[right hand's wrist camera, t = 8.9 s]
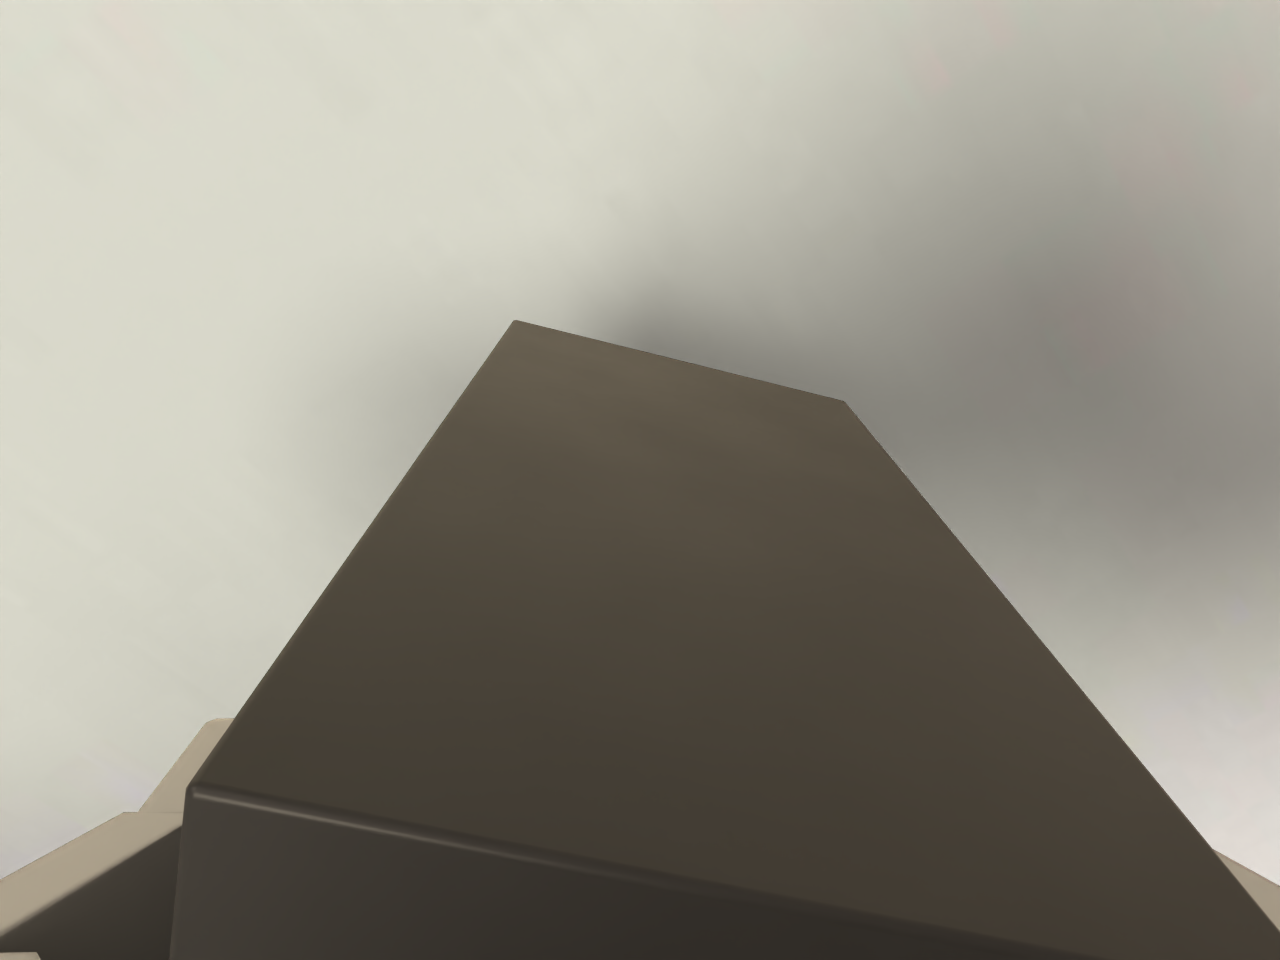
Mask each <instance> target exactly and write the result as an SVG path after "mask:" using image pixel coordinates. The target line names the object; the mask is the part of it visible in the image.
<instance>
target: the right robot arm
mask: <svg viewBox="0 0 1280 960" xmlns="http://www.w3.org/2000/svg"><path fill="white" fill-rule="evenodd" d="M234 719H235V718H224V719H214V720H212V721H209V722H207V723H206V724H205V725H204V726H203V727H202V728H201V730H200V731H199V732H198V734H197V735H196V736H195V738H194V739H193V740H192V742H191V743H190V744H189V745H188V747H187V748H186V749H185V751H184V752H183V753H182V755H181V756H180V757H179V759H178V760H177V761H176V763H175V764H174V765H173V767H172V768H171V769H170V770H169V772H168V773H167V774H166V776H165V777H164V778H163V780H162V781H161V782H160V784H159V785H158V786H157V788H156V789H155V790H154V791H153V793H152V794H151V795H150V797H149V798H148V799H147V801H146V802H145V803H144V805H143V806H142V807H141V809H140V810H139V811H138V812H123V813H121V814H120V815H118V816H116V817H114V818H112V819H111V820H109V821H107V822H105V823H103V824H101V825H100V826H98V827H96V828H94V829H92V830H90V831H89V832H87V833H85V834H83V835H81V836H79V837H78V838H76V839H74V840H72V841H70V842H68V843H67V844H65V845H63V846H61V847H59V848H57V849H56V850H54V851H52V852H50V853H48V854H47V855H45V856H43V857H41V858H39V859H37V860H36V861H34V862H32V863H30V864H28V865H26V866H25V867H23V868H21V869H19V870H17V871H15V872H14V873H12V874H10V875H8V876H6V877H4V878H3V879H1V880H0V960H169V955H170V945H171V935H172V924H173V914H174V904H175V894H176V883H177V873H178V863H179V852H180V842H181V832H182V822H183V811H184V801H185V791H186V787H187V786H188V784H189V783H190V781H191V780H192V778H193V777H194V776H195V774H196V773H197V771H198V770H199V768H200V767H201V766H202V764H203V763H204V761H205V760H206V758H207V757H208V756H209V754H210V753H211V751H212V750H213V748H214V747H215V746H216V744H217V743H218V741H219V740H220V738H221V737H222V736H223V734H224V733H225V731H226V730H227V729H228V727H229V726H230V724H231V723H232V721H233V720H234ZM1213 850H1214V849H1213ZM1214 851H1215V850H1214ZM1215 853H1216V854H1217V855H1218V856H1219V858H1220V859H1221V860H1222V861H1223V862H1224V864H1225V865H1226V866H1227V867H1228V868H1229V870H1230V871H1231V872H1232V873H1233V875H1234V876H1235V877H1236V878H1237V879H1238V881H1239V882H1240V883H1241V884H1242V885H1243V887H1244V888H1245V889H1246V890H1247V892H1248V893H1249V894H1250V895H1251V896H1252V898H1253V899H1254V900H1255V901H1256V903H1257V904H1258V905H1259V906H1260V907H1261V909H1262V910H1263V911H1264V912H1265V913H1266V915H1267V916H1268V917H1269V918H1270V920H1271V921H1272V922H1273V923H1274V924H1275V926H1276V927H1277V928H1278V929H1279V930H1280V886H1279V885H1277V884H1275V883H1273V882H1271V881H1270V880H1268V879H1266V878H1264V877H1262V876H1261V875H1259V874H1257V873H1255V872H1253V871H1252V870H1250V869H1248V868H1246V867H1244V866H1243V865H1241V864H1239V863H1237V862H1235V861H1234V860H1232V859H1230V858H1228V857H1226V856H1224V855H1223V854H1221V853H1219V852H1217V851H1215Z"/></svg>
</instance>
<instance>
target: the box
mask: <svg viewBox="0 0 1280 960" xmlns="http://www.w3.org/2000/svg"><path fill="white" fill-rule="evenodd" d="M169 960H1280V930H1279V929H1278V928H1277V927H1276V926H1275V924H1274V923H1273V922H1272V921H1271V920H1270V918H1269V917H1268V916H1267V915H1266V913H1265V912H1264V911H1263V910H1262V909H1261V907H1260V906H1259V905H1258V904H1257V903H1256V901H1255V900H1254V899H1253V898H1252V896H1251V895H1250V894H1249V893H1248V892H1247V890H1246V889H1245V888H1244V887H1243V885H1242V884H1241V883H1240V882H1239V881H1238V879H1237V878H1236V877H1235V876H1234V875H1233V873H1232V872H1231V871H1230V870H1229V868H1228V867H1227V866H1226V865H1225V864H1224V862H1223V861H1222V860H1221V859H1220V858H1219V856H1218V855H1217V854H1216V853H1215V851H1214V850H1213V849H1212V848H1211V847H1210V845H1209V844H1208V843H1207V842H1206V840H1205V839H1204V838H1203V837H1202V836H1201V834H1200V833H1199V832H1198V831H1197V830H1196V828H1195V827H1194V826H1193V825H1192V823H1191V822H1190V821H1189V820H1188V819H1187V817H1186V816H1185V815H1184V814H1183V813H1182V811H1181V810H1180V809H1179V808H1178V806H1177V805H1176V804H1175V803H1174V802H1173V800H1172V799H1171V798H1170V797H1169V796H1168V794H1167V793H1166V792H1165V791H1164V789H1163V788H1162V787H1161V786H1160V785H1159V783H1158V782H1157V781H1156V780H1155V778H1154V777H1153V776H1152V775H1151V774H1150V772H1149V771H1148V770H1147V769H1146V768H1145V766H1144V765H1143V764H1142V763H1141V761H1140V760H1139V759H1138V758H1137V757H1136V755H1135V754H1134V753H1133V752H1132V751H1131V749H1130V748H1129V747H1128V746H1127V744H1126V743H1125V742H1124V741H1123V740H1122V738H1121V737H1120V736H1119V735H1118V733H1117V732H1116V731H1115V730H1114V729H1113V727H1112V726H1111V725H1110V724H1109V723H1108V721H1107V720H1106V719H1105V718H1104V716H1103V715H1102V714H1101V713H1100V712H1099V710H1098V709H1097V708H1096V707H1095V706H1094V704H1093V703H1092V702H1091V701H1090V699H1089V698H1088V697H1087V696H1086V695H1085V693H1084V692H1083V691H1082V690H1081V688H1080V687H1079V686H1078V685H1077V684H1076V682H1075V681H1074V680H1073V679H1072V678H1071V676H1070V675H1069V674H1068V673H1067V671H1066V670H1065V669H1064V668H1063V667H1062V665H1061V664H1060V663H1059V662H1058V661H1057V659H1056V658H1055V657H1054V656H1053V654H1052V653H1051V652H1050V651H1049V650H1048V648H1047V647H1046V646H1045V645H1044V643H1043V642H1042V641H1041V640H1040V639H1039V637H1038V636H1037V635H1036V634H1035V633H1034V631H1033V630H1032V629H1031V628H1030V626H1029V625H1028V624H1027V623H1026V622H1025V620H1024V619H1023V618H1022V617H1021V616H1020V614H1019V613H1018V612H1017V611H1016V609H1015V608H1014V607H1013V606H1012V605H1011V603H1010V602H1009V601H1008V600H1007V598H1006V597H1005V596H1004V595H1003V594H1002V592H1001V591H1000V590H999V589H998V588H997V586H996V585H995V584H994V583H993V581H992V580H991V579H990V578H989V577H988V575H987V574H986V573H985V572H984V571H983V569H982V568H981V567H980V566H979V564H978V563H977V562H976V561H975V560H974V558H973V557H972V556H971V555H970V553H969V552H968V551H967V550H966V549H965V547H964V546H963V545H962V544H961V543H960V541H959V540H958V539H957V538H956V536H955V535H954V534H953V533H952V532H951V530H950V529H949V528H948V527H947V526H946V524H945V523H944V522H943V521H942V519H941V518H940V517H939V516H938V515H937V513H936V512H935V511H934V510H933V508H932V507H931V506H930V505H929V504H928V502H927V501H926V500H925V499H924V498H923V496H922V495H921V494H920V493H919V491H918V490H917V489H916V488H915V487H914V485H913V484H912V483H911V482H910V481H909V479H908V478H907V477H906V476H905V474H904V473H903V472H902V471H901V470H900V468H899V467H898V466H897V465H896V463H895V462H894V461H893V460H892V459H891V457H890V456H889V455H888V454H887V453H886V451H885V450H884V449H883V448H882V446H881V445H880V444H879V443H878V442H877V440H876V439H875V438H874V437H873V436H872V434H871V433H870V432H869V431H868V429H867V428H866V427H865V426H864V425H863V423H862V422H861V421H860V420H859V419H858V417H857V416H856V415H855V414H854V412H853V411H852V410H851V409H850V408H849V406H848V405H847V404H846V403H845V402H844V401H841V400H837V399H833V398H829V397H825V396H821V395H817V394H813V393H809V392H805V391H801V390H797V389H793V388H788V387H784V386H780V385H776V384H772V383H768V382H764V381H760V380H756V379H752V378H748V377H744V376H740V375H736V374H732V373H728V372H724V371H720V370H716V369H712V368H708V367H704V366H700V365H696V364H692V363H688V362H684V361H679V360H675V359H671V358H667V357H663V356H659V355H655V354H651V353H647V352H643V351H639V350H635V349H631V348H627V347H623V346H619V345H615V344H611V343H607V342H603V341H599V340H595V339H591V338H587V337H583V336H579V335H575V334H570V333H566V332H562V331H558V330H554V329H550V328H546V327H542V326H538V325H534V324H530V323H526V322H522V321H518V320H514V321H513V322H512V324H511V325H510V327H509V328H508V329H507V331H506V332H505V334H504V335H503V337H502V338H501V339H500V341H499V342H498V344H497V345H496V347H495V348H494V349H493V351H492V352H491V354H490V355H489V356H488V358H487V359H486V361H485V362H484V364H483V365H482V366H481V368H480V369H479V371H478V372H477V374H476V375H475V376H474V378H473V379H472V381H471V382H470V384H469V385H468V386H467V388H466V389H465V391H464V392H463V394H462V395H461V396H460V398H459V399H458V401H457V402H456V404H455V405H454V406H453V408H452V409H451V411H450V412H449V414H448V415H447V416H446V418H445V419H444V421H443V422H442V423H441V425H440V426H439V428H438V429H437V431H436V432H435V433H434V435H433V436H432V438H431V439H430V441H429V442H428V443H427V445H426V446H425V448H424V449H423V451H422V452H421V453H420V455H419V456H418V458H417V459H416V461H415V462H414V463H413V465H412V466H411V468H410V469H409V471H408V472H407V473H406V475H405V476H404V478H403V479H402V481H401V482H400V483H399V485H398V486H397V488H396V489H395V490H394V492H393V493H392V495H391V496H390V498H389V499H388V500H387V502H386V503H385V505H384V506H383V508H382V509H381V510H380V512H379V513H378V515H377V516H376V518H375V519H374V520H373V522H372V523H371V525H370V526H369V528H368V529H367V530H366V532H365V533H364V535H363V536H362V538H361V539H360V540H359V542H358V543H357V545H356V546H355V547H354V549H353V550H352V552H351V553H350V555H349V556H348V557H347V559H346V560H345V562H344V563H343V565H342V566H341V567H340V569H339V570H338V572H337V573H336V575H335V576H334V577H333V579H332V580H331V582H330V583H329V585H328V586H327V587H326V589H325V590H324V592H323V593H322V595H321V596H320V597H319V599H318V600H317V602H316V603H315V605H314V606H313V607H312V609H311V610H310V612H309V613H308V614H307V616H306V617H305V619H304V620H303V622H302V623H301V624H300V626H299V627H298V629H297V630H296V632H295V633H294V634H293V636H292V637H291V639H290V640H289V642H288V643H287V644H286V646H285V647H284V649H283V650H282V652H281V653H280V654H279V656H278V657H277V659H276V660H275V662H274V663H273V664H272V666H271V667H270V669H269V670H268V671H267V673H266V674H265V676H264V677H263V679H262V680H261V681H260V683H259V684H258V686H257V687H256V689H255V690H254V691H253V693H252V694H251V696H250V697H249V699H248V700H247V701H246V703H245V704H244V706H243V707H242V709H241V710H240V711H239V713H238V714H237V716H236V717H235V719H234V720H233V721H232V723H231V724H230V726H229V727H228V729H227V730H226V731H225V733H224V734H223V736H222V737H221V738H220V740H219V741H218V743H217V744H216V746H215V747H214V748H213V750H212V751H211V753H210V754H209V756H208V757H207V758H206V760H205V761H204V763H203V764H202V766H201V767H200V768H199V770H198V771H197V773H196V774H195V776H194V777H193V778H192V780H191V781H190V783H189V784H188V786H187V787H186V791H185V801H184V811H183V822H182V832H181V842H180V852H179V863H178V873H177V883H176V894H175V904H174V914H173V924H172V935H171V945H170V955H169Z"/></svg>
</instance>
